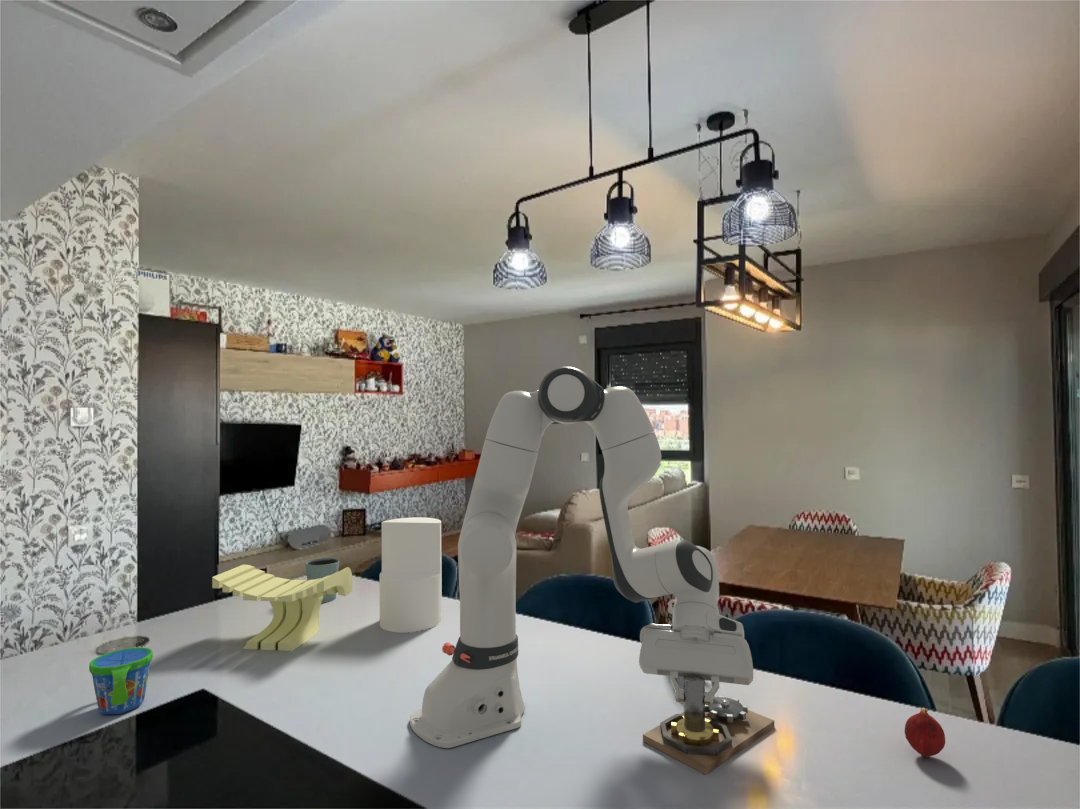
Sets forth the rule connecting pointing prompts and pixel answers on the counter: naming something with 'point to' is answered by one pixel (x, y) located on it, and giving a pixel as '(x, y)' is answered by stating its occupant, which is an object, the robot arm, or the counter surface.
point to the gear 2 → (727, 709)
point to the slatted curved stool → (284, 603)
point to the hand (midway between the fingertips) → (694, 702)
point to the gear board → (716, 752)
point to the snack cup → (121, 679)
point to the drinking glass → (322, 572)
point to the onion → (924, 734)
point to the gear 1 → (694, 715)
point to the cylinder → (411, 574)
